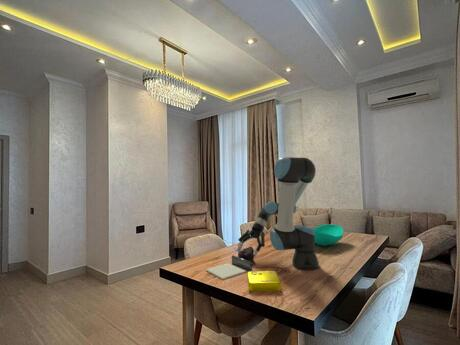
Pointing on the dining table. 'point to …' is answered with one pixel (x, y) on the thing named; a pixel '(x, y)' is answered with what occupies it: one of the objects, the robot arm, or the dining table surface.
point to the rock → (247, 254)
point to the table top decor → (328, 234)
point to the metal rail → (242, 263)
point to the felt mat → (225, 271)
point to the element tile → (263, 281)
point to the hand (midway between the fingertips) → (245, 253)
